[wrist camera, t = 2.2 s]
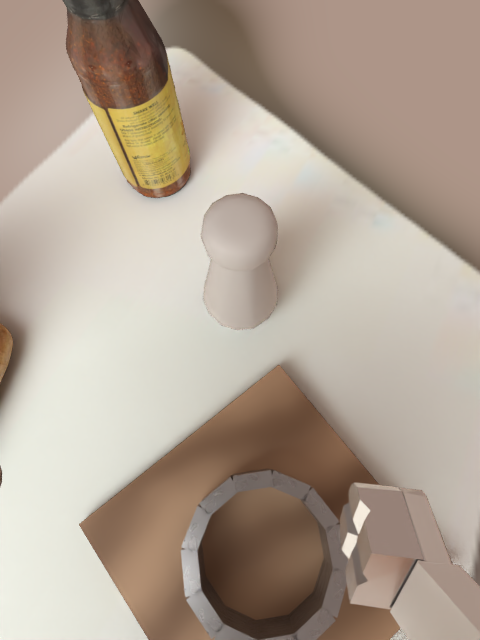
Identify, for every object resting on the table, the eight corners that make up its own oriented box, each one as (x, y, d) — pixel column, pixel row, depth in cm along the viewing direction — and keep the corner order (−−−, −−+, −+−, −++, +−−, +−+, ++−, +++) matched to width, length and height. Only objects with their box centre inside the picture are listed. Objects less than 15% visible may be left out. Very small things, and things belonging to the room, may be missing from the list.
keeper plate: (446, 569, 28) (453, 574, 27) (240, 778, 25) (240, 791, 24) (278, 367, 33) (279, 364, 32) (84, 522, 30) (78, 524, 29)
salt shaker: (272, 340, 33) (289, 275, 21) (202, 334, 34) (178, 266, 21) (277, 274, 35) (295, 178, 23) (210, 269, 35) (192, 170, 23)
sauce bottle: (203, 158, 39) (166, -120, 20) (173, 211, 37) (100, -38, 18) (142, 135, 40) (50, -152, 21) (110, 186, 38) (-23, -77, 19)
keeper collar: (367, 562, 28) (381, 575, 25) (251, 674, 26) (252, 702, 23) (272, 440, 30) (275, 439, 27) (159, 535, 28) (150, 544, 25)
